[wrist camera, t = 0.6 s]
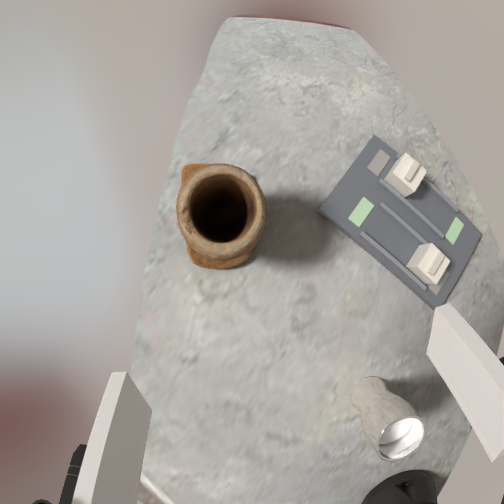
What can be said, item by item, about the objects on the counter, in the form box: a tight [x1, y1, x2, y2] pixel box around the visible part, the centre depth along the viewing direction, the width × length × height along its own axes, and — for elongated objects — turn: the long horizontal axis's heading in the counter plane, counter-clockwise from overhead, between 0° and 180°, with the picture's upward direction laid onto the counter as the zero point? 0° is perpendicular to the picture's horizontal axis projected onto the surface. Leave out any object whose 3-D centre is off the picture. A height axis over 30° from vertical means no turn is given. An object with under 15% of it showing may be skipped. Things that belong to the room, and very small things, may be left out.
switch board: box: [317, 135, 482, 310], centre depth 41 cm, size 24×15×3 cm, turn 52°
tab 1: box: [384, 153, 427, 198], centre depth 39 cm, size 4×4×5 cm
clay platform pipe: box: [176, 164, 266, 269], centre depth 37 cm, size 15×12×15 cm
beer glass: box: [350, 377, 427, 462], centre depth 34 cm, size 7×7×15 cm
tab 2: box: [406, 243, 450, 285], centre depth 38 cm, size 4×4×5 cm
